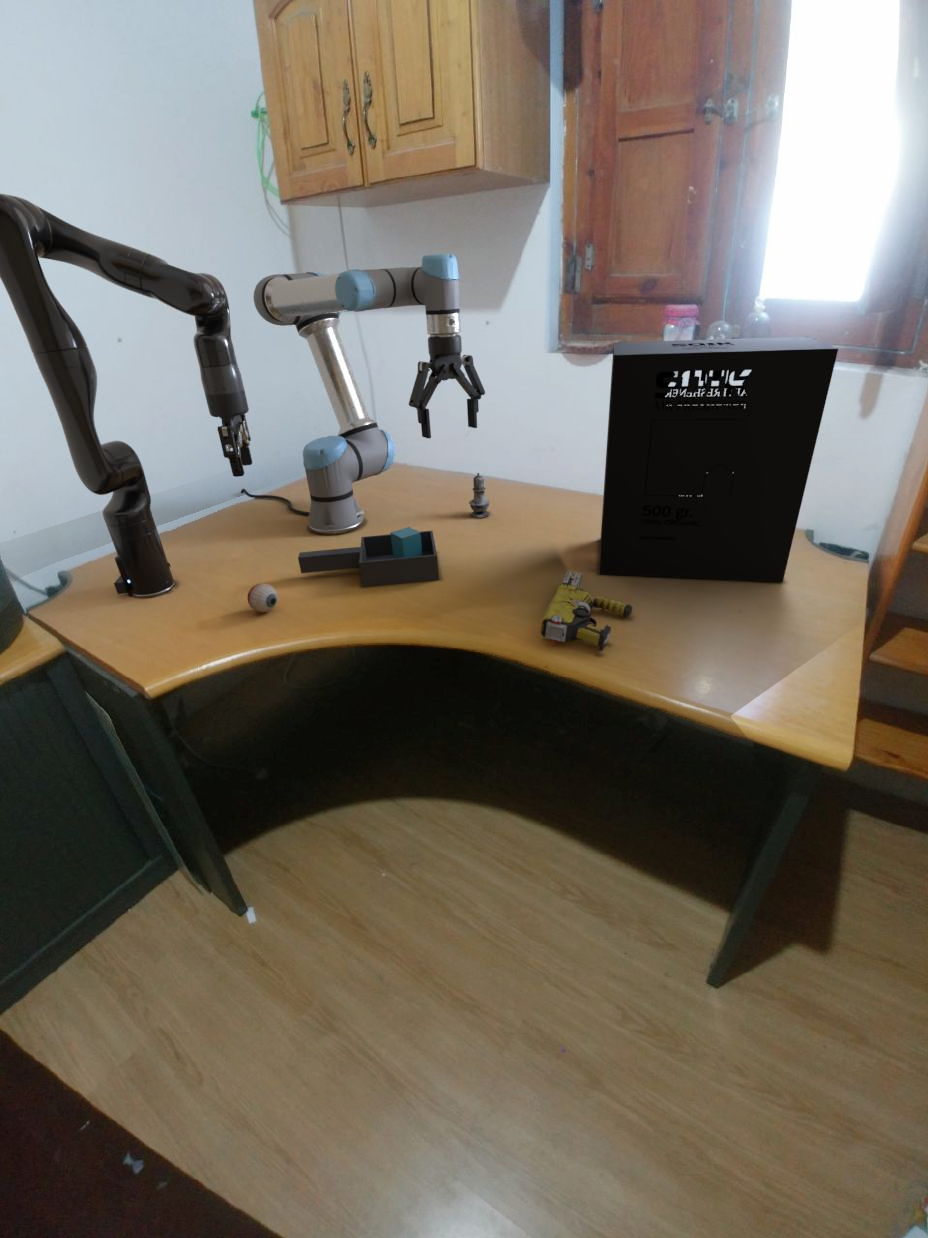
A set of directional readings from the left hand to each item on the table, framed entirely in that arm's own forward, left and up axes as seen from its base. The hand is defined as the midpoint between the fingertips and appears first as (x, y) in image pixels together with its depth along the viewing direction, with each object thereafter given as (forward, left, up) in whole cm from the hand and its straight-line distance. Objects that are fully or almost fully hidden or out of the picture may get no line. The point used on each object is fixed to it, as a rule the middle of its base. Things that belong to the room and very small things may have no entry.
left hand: (243, 470), depth 127 cm
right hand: (+46, +17, +1) cm, 49 cm away
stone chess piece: (+54, +31, -26) cm, 67 cm away
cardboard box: (+96, -10, -26) cm, 99 cm away
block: (+32, 0, -25) cm, 41 cm away
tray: (+24, 0, -26) cm, 35 cm away
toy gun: (+67, -32, -26) cm, 79 cm away
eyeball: (+2, -15, -26) cm, 30 cm away
